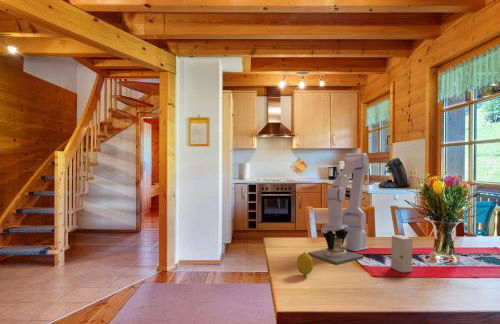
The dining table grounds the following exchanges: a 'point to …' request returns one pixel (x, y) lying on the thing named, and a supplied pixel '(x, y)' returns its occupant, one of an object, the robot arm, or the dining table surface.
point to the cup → (337, 245)
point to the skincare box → (401, 253)
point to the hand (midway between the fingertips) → (335, 248)
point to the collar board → (337, 259)
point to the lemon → (304, 264)
